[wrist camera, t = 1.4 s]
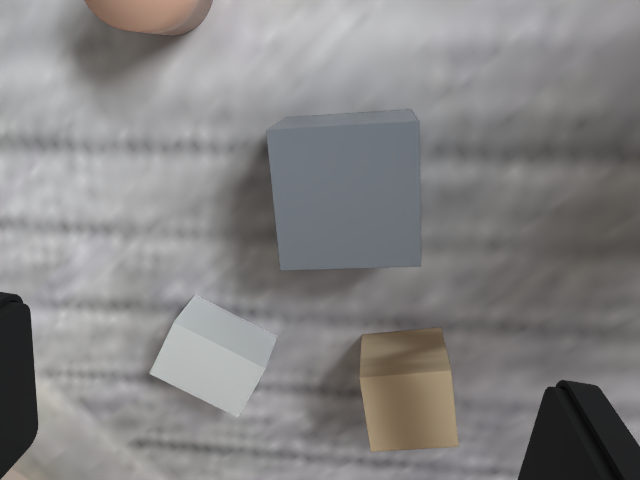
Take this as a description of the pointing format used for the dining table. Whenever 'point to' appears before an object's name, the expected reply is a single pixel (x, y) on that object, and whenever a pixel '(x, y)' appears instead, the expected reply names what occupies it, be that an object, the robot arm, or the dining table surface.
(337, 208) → the slate block
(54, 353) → the dining table surface
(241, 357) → the pale grey block
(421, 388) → the oak cube
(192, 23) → the terracotta cylinder
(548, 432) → the robot arm
